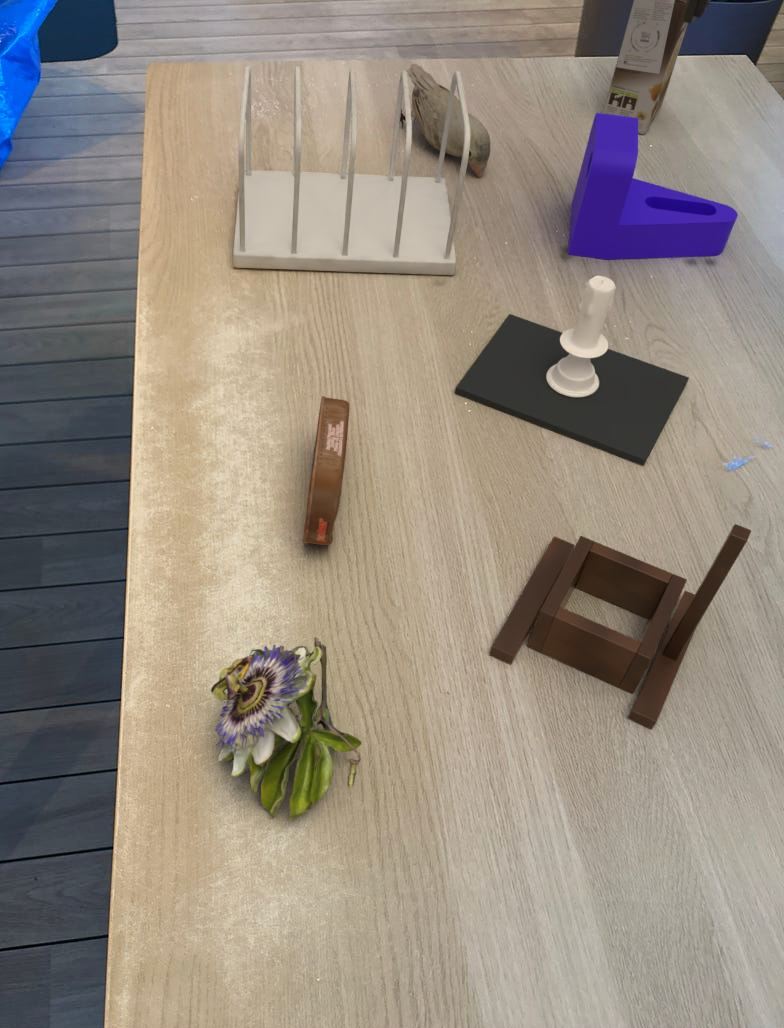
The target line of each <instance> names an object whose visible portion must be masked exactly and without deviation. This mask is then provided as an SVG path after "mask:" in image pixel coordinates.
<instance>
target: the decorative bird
mask: <svg viewBox="0 0 784 1028" xmlns="http://www.w3.org/2000/svg"><path fill="white" fill-rule="evenodd" d="M409 66H410V67H409V68H407V70H406V72H407V75H408V76H409V78H410V80H411V82H412V83H413V85H414V87H413V89H412V92H411V117H413V118H414V119H413V121H412V123H415V121H416V122H417V124H418V127H419V129H420V131H421V132H422V134H423V136H424V137H425V139H426V141H427V142H428V143H429V144H430V145H431V147H432V148H434V149H435V150H436V151H439V152H440V149H441V143H442V137H443V130H444V124H445V118H446V112H447V105H448V99H449V93H450V89H449V88H446V87H445V86H443V85H441V84H439V83H438V82H437V81H436V80H435V78H434V77H433V76H432V75H431V74H430V73H429V72H427V71H426V70H425V69H424V68H423V67H422V66H421V65H418V64H417V63H412V64H410V65H409ZM468 117H469V123H470V150H469V157H468V164H469V166H470V167H471V169H472V171H473V172H474V173H475V175H476V176H477V177H478V178H481V177H482V176H483V174H484V173H485V170H486V168H487V165H488V162H489V158H490V155H491V137H490V134H489V131H488V130H487V128H486V126H485V125H484V124H483V123H482V122H481V121H480V120H479V119H478V118H476V117H475V116H474V115H472V114H471V113H469V112H468ZM405 122H406V121H405V114H404V113H403V108H402V107H401V116H400V124H401V129H403V128H404V123H405ZM463 148H464V127H463V121H462V114H461V107H460V100H459V97H457V96H456V95H454V101H453V107H452V113H451V119H450V125H449V131H448V138H447V144H446V150H445V154H448V155H450V156H453V157H462V156H463Z"/></svg>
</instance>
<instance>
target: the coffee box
mask: <svg viewBox="0 0 784 1028" xmlns="http://www.w3.org/2000/svg"><path fill="white" fill-rule="evenodd" d="M688 3H689V0H633V1H632V4H631V9H630V12H629V15H628V16H629V17H628V20H627V24H626V28H625V30H624V35H623V38H622V42H621V45H620V50H619V52H618V57H617V60H616V64H615V68H614V71H613V75H612V79H611V82H610V86H609V90H608V94H607V97H606V100H605V104H604V109H603V111H602V114H610V115H618V116H627V117H635V118H638V135H645V134H646V133H647V131H648V129H650V126H651V125H652V123H653V122H654V120H655V118H656V116H657V114H658V113H659V112H660V110H661V108H662V106H663V103H664V101H665V97H666V94H667V91H668V89H669V85H670V82H671V79H672V76H673V72H674V70H675V65H676V62H677V59H678V57H679V53H680V50H681V47H682V43H683V40H684V38H685V34H686V31H687V27H688V24H689V23H686V22H683V20H684V16H685V13H686V10H687V7H688Z"/></svg>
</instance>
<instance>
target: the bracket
mask: <svg viewBox="0 0 784 1028" xmlns="http://www.w3.org/2000/svg"><path fill="white" fill-rule="evenodd" d="M638 156H639V133H638V118H635V117H627V116H618V115H610V114H603V112H602V113H601V112H596V113H595V114H594V118H593V121H592V124H591V129H590V132H589V135H588V139H587V143H586V148H585V152H584V155H583V159H582V163H581V166H580V170H579V175H578V178H577V182H576V185H575V189H574V192H573V196H572V201H571V207H570V208H571V209H570V220H569V233H568V247H567V255H570V256H578V257H586V258H591V259H599V260H606V261H611V260H612V261H613V260H615V261H616V260H637V259H638V260H639V259H641V260H642V259H668V258H669V259H670V258H695V257H697V258H698V257H715V256H719V255H721V254H722V253H723V252H724V250H725V247H726V244H727V243H728V241H729V238H730V236H731V234H732V231H733V229H734V226H735V224H736V221H737V219H738V212H737V211H736V210H735V208H733V207H732V206H730V205H727V204H724V203H721V202H717V201H714V200H710V199H707V198H703V197H700V196H697V195H693V194H690V193H686V192H683V191H679V190H675V189H673V188H669V187H665V186H661V185H658V184H655V183H651V182H648V181H644V180H640V179H638V178H634V174H635V170H636V167H637V163H638V162H637V161H638Z"/></svg>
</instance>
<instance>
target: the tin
mask: <svg viewBox="0 0 784 1028" xmlns="http://www.w3.org/2000/svg"><path fill="white" fill-rule="evenodd" d="M349 417H350V403H349V401H348V400H345V399H339V398H334V397H333V398H332V397H326V396H324V395H322V396H321V398H320V405H319V412H318V421H317V428H316V433H315V434H316V435H315V441H314V447H313V454H312V461H311V472H310V478H309V486H308V495H307V503H306V510H305V519H304V527H303V537H302V538H303V539H302V543H303V544H314V545H315V544H316V545H321V546H322V545H323V546H330V545H332V544H333V542H334V525H335V521H336V519H337V516H338V513H339V509H340V504H341V503H340V502H341V497H342V496H341V495H342V488H343V479H344V472H345V463H346V453H347V446H348V445H347V443H348V433H349V420H350V418H349Z"/></svg>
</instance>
